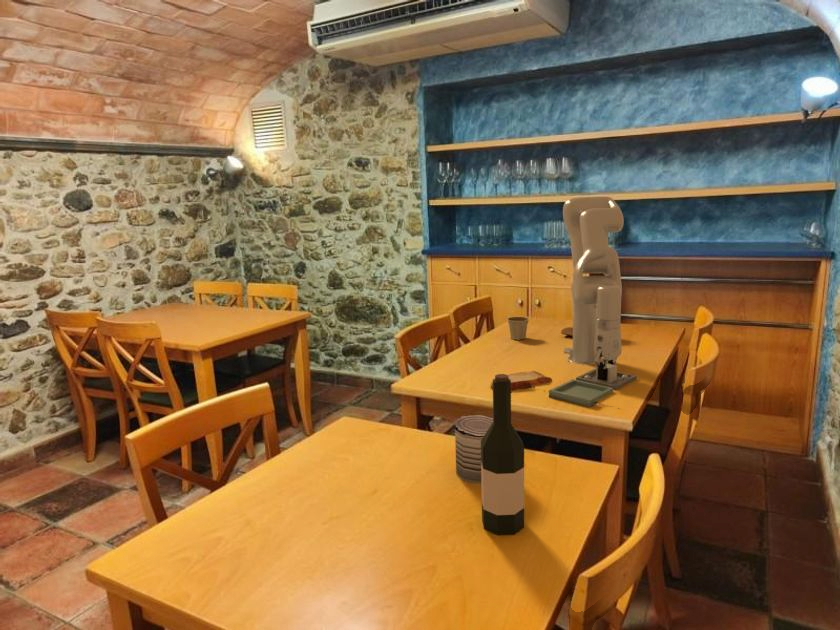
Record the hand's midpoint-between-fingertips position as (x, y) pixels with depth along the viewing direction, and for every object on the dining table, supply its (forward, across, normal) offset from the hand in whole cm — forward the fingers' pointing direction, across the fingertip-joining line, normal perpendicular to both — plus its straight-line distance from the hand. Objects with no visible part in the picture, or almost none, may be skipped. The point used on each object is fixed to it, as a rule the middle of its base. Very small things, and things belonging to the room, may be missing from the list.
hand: (606, 377), depth 193 cm
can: (+2, -75, -8) cm, 75 cm away
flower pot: (+2, +31, +57) cm, 65 cm away
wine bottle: (+2, -89, -25) cm, 92 cm away
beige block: (+1, 0, 0) cm, 1 cm away
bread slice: (+3, -18, +20) cm, 28 cm away
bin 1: (+2, -16, 0) cm, 16 cm away
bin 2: (+2, 0, 0) cm, 2 cm away
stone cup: (+2, +50, +37) cm, 62 cm away
